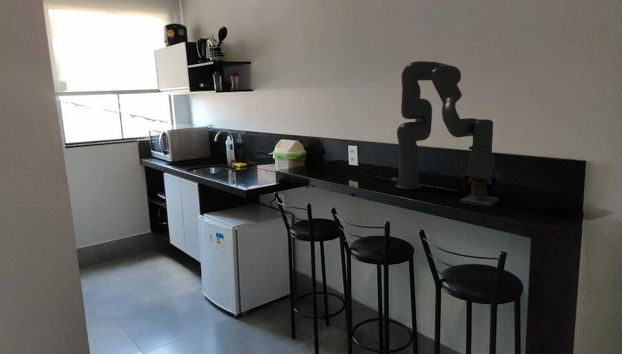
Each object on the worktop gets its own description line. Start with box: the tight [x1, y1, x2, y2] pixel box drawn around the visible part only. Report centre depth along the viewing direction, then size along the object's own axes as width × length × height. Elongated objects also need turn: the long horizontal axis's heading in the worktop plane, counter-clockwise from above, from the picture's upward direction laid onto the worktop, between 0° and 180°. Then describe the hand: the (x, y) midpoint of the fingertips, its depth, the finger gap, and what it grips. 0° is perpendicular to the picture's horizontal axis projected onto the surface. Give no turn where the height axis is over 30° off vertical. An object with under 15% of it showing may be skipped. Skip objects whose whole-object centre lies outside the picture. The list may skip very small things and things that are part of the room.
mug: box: [458, 178, 471, 197], centre depth 197 cm, size 7×10×7 cm
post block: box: [459, 195, 500, 208], centre depth 183 cm, size 12×12×8 cm
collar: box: [471, 178, 490, 197], centre depth 183 cm, size 7×7×6 cm
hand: (480, 192), depth 183 cm, fingers closed on collar, 6 cm apart
